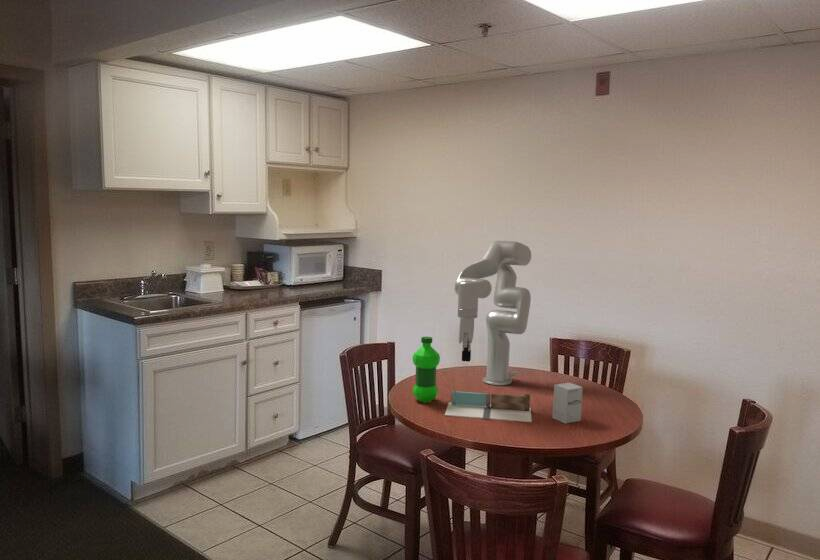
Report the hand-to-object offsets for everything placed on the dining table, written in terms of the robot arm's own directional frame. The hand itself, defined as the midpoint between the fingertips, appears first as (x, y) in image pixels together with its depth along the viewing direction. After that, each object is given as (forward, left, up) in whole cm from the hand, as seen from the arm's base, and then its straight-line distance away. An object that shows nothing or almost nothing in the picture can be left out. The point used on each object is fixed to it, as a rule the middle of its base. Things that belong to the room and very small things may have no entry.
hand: (466, 360), depth 235 cm
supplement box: (-22, +32, -17) cm, 43 cm away
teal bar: (+1, +5, -16) cm, 17 cm away
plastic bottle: (+12, -10, -17) cm, 23 cm away
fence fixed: (-11, +14, -17) cm, 24 cm away
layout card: (-1, +13, -17) cm, 22 cm away
